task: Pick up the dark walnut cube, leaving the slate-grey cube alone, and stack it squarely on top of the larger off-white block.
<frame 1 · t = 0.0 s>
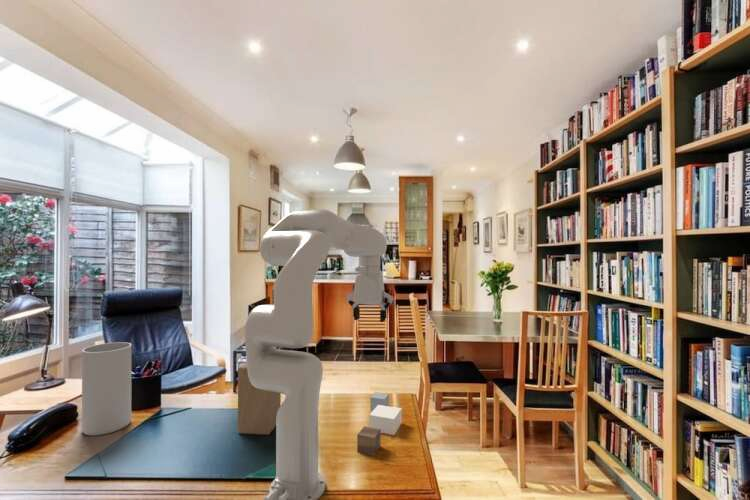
hand: (369, 320, 126), 31 cm above the table, tool pointing down, fingers open, 9 cm apart
walnut cube: (369, 449, 101), on the table
wooden block: (259, 427, 114), on the table
off-white block: (385, 427, 114), on the table
slate-grey cube: (379, 410, 126), on the table
cylinder vase: (107, 427, 114), on the table
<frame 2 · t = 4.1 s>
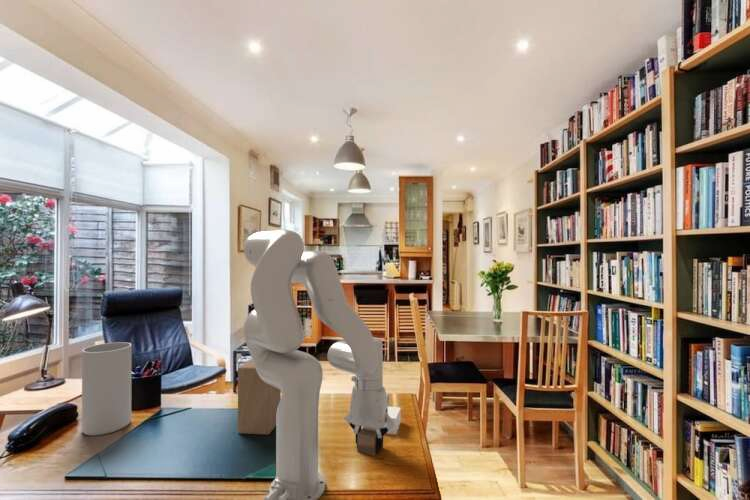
hand: (369, 447, 101), 0 cm above the table, tool pointing down, fingers closed on walnut cube, 5 cm apart
walnut cube: (369, 449, 101), on the table, touching gripper
everything else where it was.
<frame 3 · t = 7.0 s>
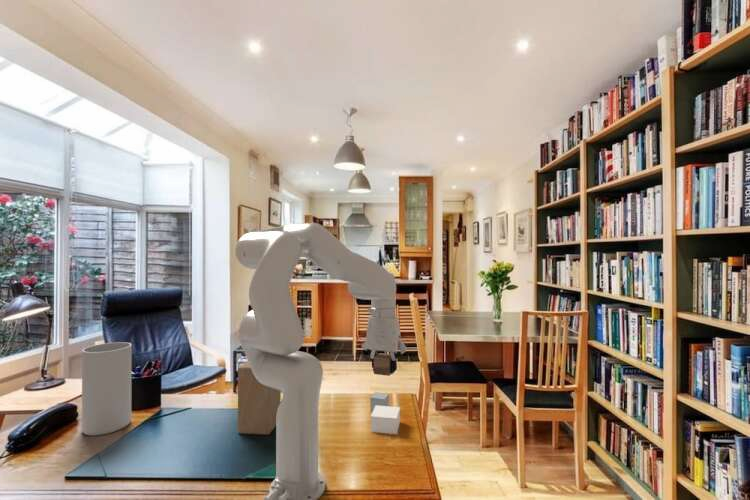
hand: (384, 370, 112), 18 cm above the table, tool pointing down, fingers closed on walnut cube, 4 cm apart
walnut cube: (384, 372, 112), point 18 cm above the table, touching gripper
everything else where it was.
when the fingers open (7 cm above the table, at t = 10.0 s): walnut cube drops 2 cm, resting on off-white block.
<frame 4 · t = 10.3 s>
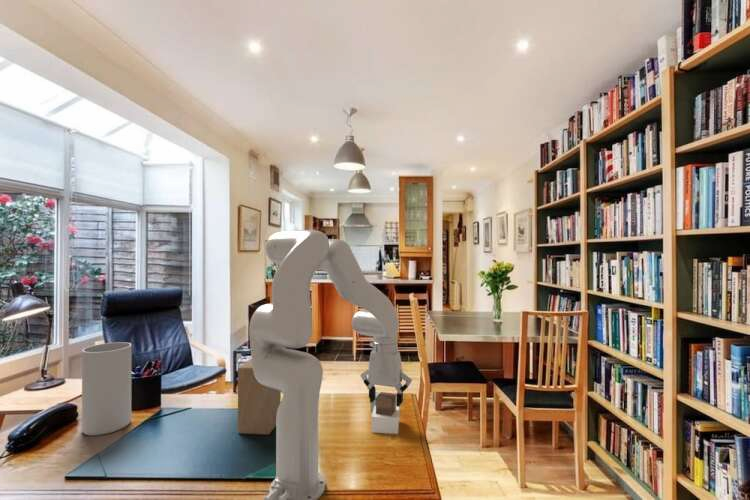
hand: (385, 402, 114), 8 cm above the table, tool pointing down, fingers open, 8 cm apart
walnut cube: (386, 411, 114), point 5 cm above the table, touching off-white block
off-white block: (385, 427, 114), on the table, touching walnut cube
everything else where it was.
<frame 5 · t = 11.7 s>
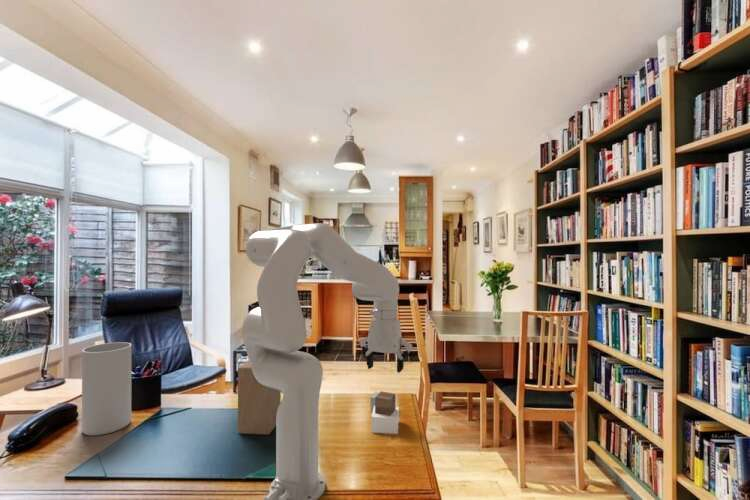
hand: (384, 369, 114), 18 cm above the table, tool pointing down, fingers open, 9 cm apart
nothing on the table moved.
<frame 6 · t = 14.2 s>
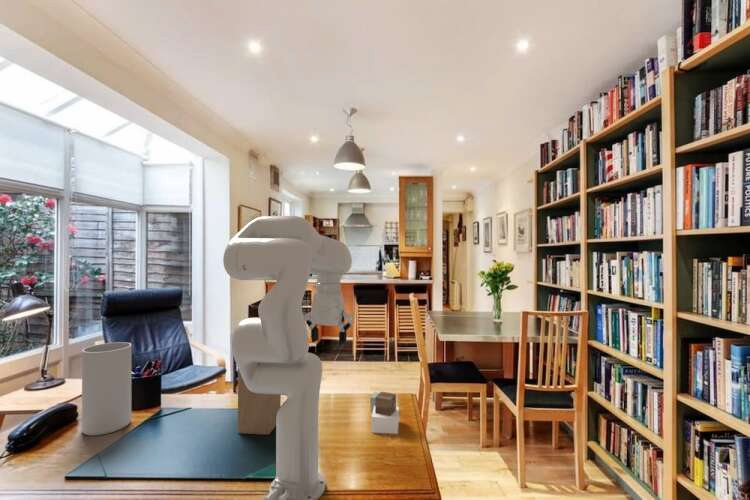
hand: (328, 342, 115), 26 cm above the table, tool pointing down, fingers open, 9 cm apart
nothing on the table moved.
at the end: walnut cube 0.2 cm off-centre on the off-white block, point 5.0 cm above the off-white block's base; walnut cube tilted 0°; the gripper is holding nothing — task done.
